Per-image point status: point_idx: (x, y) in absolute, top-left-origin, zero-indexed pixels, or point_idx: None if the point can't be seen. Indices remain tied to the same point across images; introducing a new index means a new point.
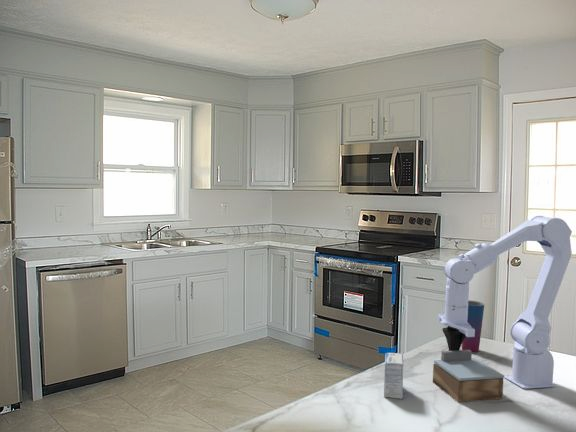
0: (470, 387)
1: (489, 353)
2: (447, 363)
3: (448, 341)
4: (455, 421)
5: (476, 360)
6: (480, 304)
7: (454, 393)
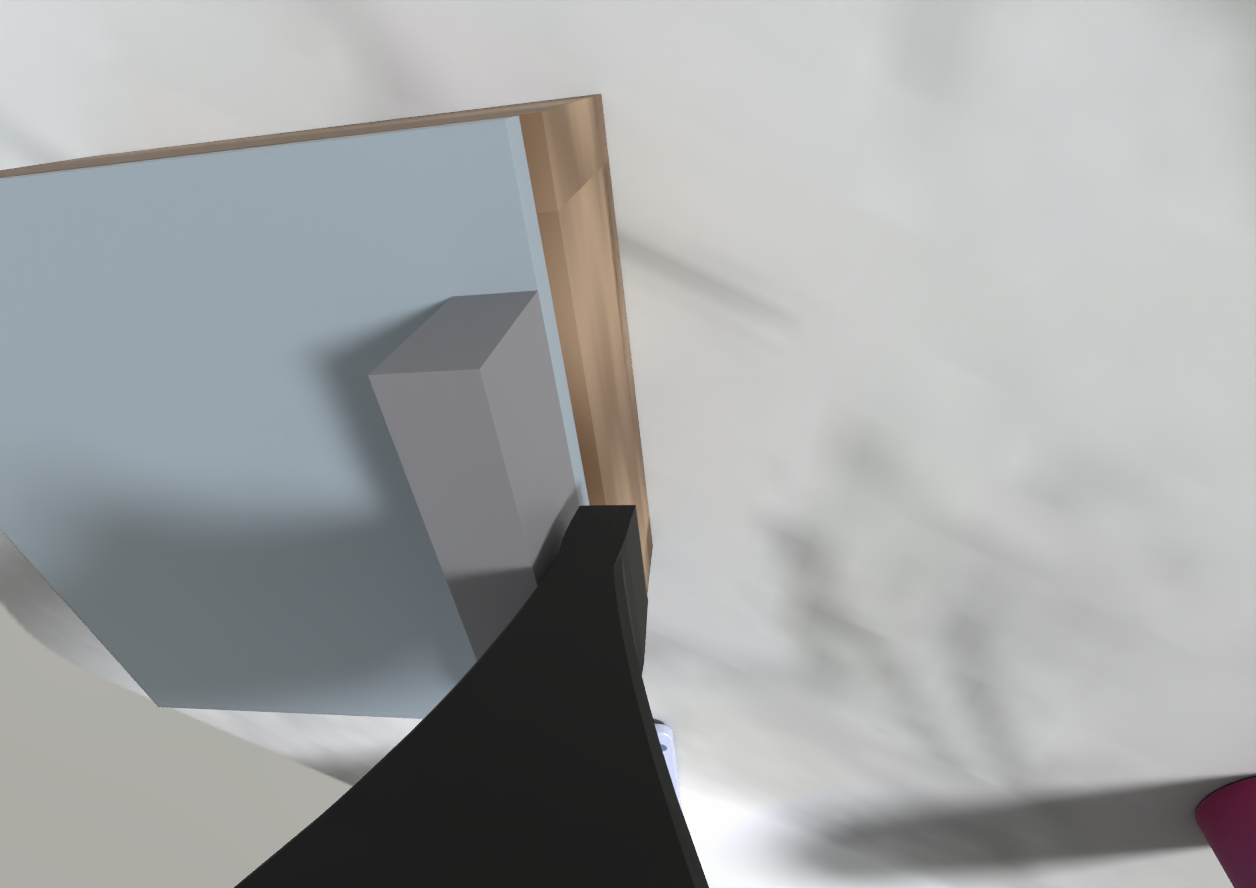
0: None
1: (1121, 852)
2: (375, 328)
3: (536, 717)
4: None
5: None
6: None
7: (91, 158)
